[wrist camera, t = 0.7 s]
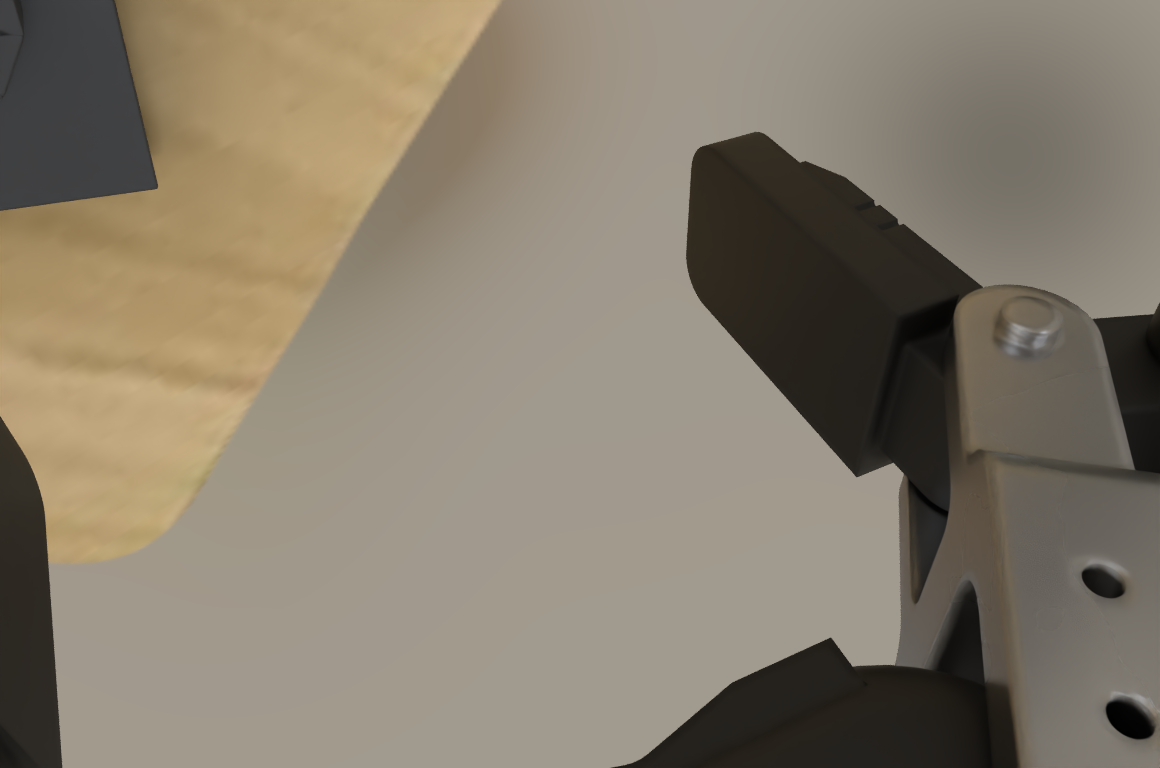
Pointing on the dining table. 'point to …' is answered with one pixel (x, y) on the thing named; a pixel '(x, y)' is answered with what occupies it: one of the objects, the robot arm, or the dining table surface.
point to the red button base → (67, 105)
